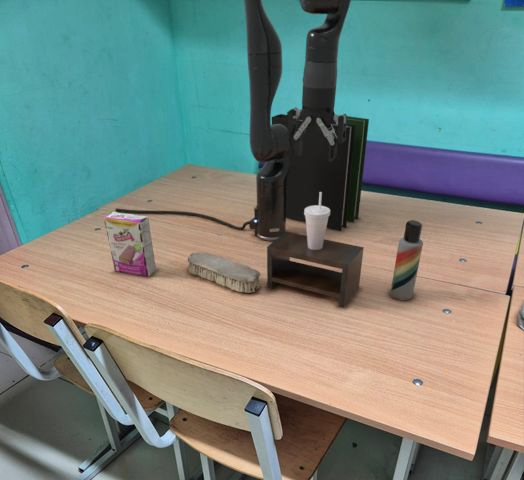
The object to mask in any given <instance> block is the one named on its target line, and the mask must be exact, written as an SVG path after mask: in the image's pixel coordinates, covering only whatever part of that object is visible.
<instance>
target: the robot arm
mask: <svg viewBox="0 0 524 480" xmlns="http://www.w3.org/2000/svg"><path fill="white" fill-rule="evenodd" d="M297 2H298V4H299V6H300V8H301V9H302V11H303V12H305V13H307V14H310V15H326V16H325V18H324V21H323V23H322V24H321V25H318V26H316V27H314V28H313V27H312V28H311V29H309V30H308V32H307V34H306V41H305V57H304V58H305V60H304V66H303V72H302V73H303V76H302V94H301V95H302V96H301V109H299V110H298V108H297V107H293V108H291V109H289V110H288V111H289V117H288V129H287V128H286V127H285V126H283V125H281V124H274V125H272V122H271V117H272V116H271V113H272V107H273V102H274V99H275V96H276V93H277V92H278V89H279V86H280V83H281V79H282V76H283V46H282V41H281V39H280V37H279V34H278V32H277V31H276V29H275V27H274V25H273V23H272V21H271V20H270V18H269V16H268V15H267V12H266V10H265V7H264V5H263V4H264V3H263V1H262V0H243V6H244V15H245V16H244V17H245V29H246V30H245V31H246V32H245V33H246V54H247V55H246V57H247V58H246V59H247V71H248V81H249V82H248V85H249V108H250V109H249V147H250V151H251V155H252V156H253V159H254V160H255V161H257V162H259V163H264V164H263V166H262V167H261V168H259V170H258V171H257V172H256V174H255V175H256V176H255V180H256V182H255V183H256V187H255V188H256V205H255V206H254V208H253V211H254V212H253V214H254V215H253V216H254V217H253V218H251V219H250V220H248V221H245V222H244V223H243V224H242V226H235V225H234V224H231V223H229V222H226V221H224V220H221V219H219V218H216V217H214V216H212V215H211V216H210V215H207V214H203V213H198V212H191V211H181V210H179V211H177V210H143V209H142V210H141V209H140V210H139V209H138V210H137V209H125V208H117V207H116V208H115V212H119V213H129V214H161V215H162V214H167V215H184V216H185V215H186V216H194V217H198V218H199V217H200V218H204V219H208V220H211V221H214V222H216V223H219V224H221V225H223V226H227V227H229V228H231V229H233V230H238V231H243V230H245V228H246V227H247V226H248V225H249V230H254V236H255V237H257V238H259V239H260V240H262V241H268V242H274V241H275V240H276V239H277V238H279V237H280V236H281V235H282V234H284V233H285V232H286V231H287V218H286V185H287V176H288V173H289V169H290V155H291V139H290V136H291V137H293V138H294V140H295V142H294V152H295V153H296V156H300V155H301V154H302V146H303V139H302V136H303V135H304V133H305V132H306V131H307V130H309V132H313V131H315V132H317V133H322V132H323V134H324V136H325V137H326V138H327V139H328V141H329V143H330V145H329V151H328V161H332V160H333V159H334V158H335V157H336V153H337V144H341V143H342V142H344V141H345V140H346V126H347V116H348V114H347V113H343V114H336V113H335V104H336V93H337V84H338V83H337V82H338V56H339V46H340V45H339V44H340V38H341V35H342V31H343V27H344V25H345V21H346V18H347V15H348V12H349V9H350V6H351V2H352V0H297ZM299 116H300V117H301V119H302V121H303V124H302V125H301V126H300V128H299V129H298V131H296V126H297V119H298V118H299ZM334 120H335V121H336V125H338V132H337V136H336V134H335V130H334V128H333V126H332V122H333V121H334Z"/></svg>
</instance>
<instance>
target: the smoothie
mask: <svg viewBox="0 0 524 480" xmlns="http://www.w3.org/2000/svg"><path fill="white" fill-rule="evenodd" d="M321 198H322V192H319V205H314V206H309V207H306V208H305V209H304V215H305V216H306V223H305V228H306V236H307V241H308V248H309V249H312V250H319V249H322V247H323V242H324V239H325V236H326V231H327V228H326V227H327V222H328V217H329V216H330V209H329V208H327V207H325V206H321Z"/></svg>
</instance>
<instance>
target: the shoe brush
mask: <svg viewBox="0 0 524 480" xmlns="http://www.w3.org/2000/svg"><path fill="white" fill-rule="evenodd" d="M187 262H188V268H187V269H188V270H187V271H188V273H190V275H193V276H194V275H195V276H198V277H200V278H201V279H206V280H208V281H210V282H215V283H216V284H217V285H219V286H222V287H226V288H228V289H230V290H232V291H235V292H237V293H245V294H250V293H251V294H252V293H255V292H256V290H258V289H259V288H260V276H261V272H260V271H258V270H257V269H255V268H252V267H250V266H249V265H246V264H243V263H240V262H238V261H235V260H231V259H229V258H226V257H223V256H220V255H217V254H212V253H209V252H204V251H203V252H202V251H201V252H200V251H199V252H193V253H190V254H189V256H188V257H187ZM255 289H256V290H255Z"/></svg>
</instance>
